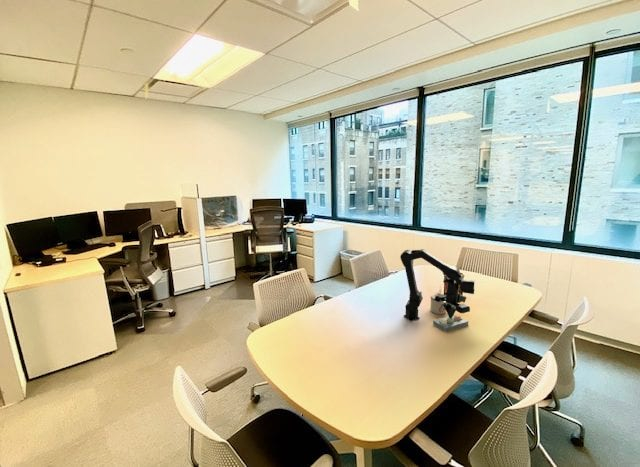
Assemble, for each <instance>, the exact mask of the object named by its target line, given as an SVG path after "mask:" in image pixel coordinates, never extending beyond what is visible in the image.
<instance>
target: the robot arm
mask: <svg viewBox="0 0 640 467" xmlns="http://www.w3.org/2000/svg"><path fill="white" fill-rule="evenodd" d="M399 259H400V261H401V263H402V265H403V267H404V269H405V270H404V271H405V273H406V274H405V275H406V279H407V284H408V289H409V295H408V296H409V300H408V301H407V303H406V304H405V306H404V307H405V314H403V317H404V318H406V320H409V321H416V320H419V319H420V317H419V307H420V306H421V303H422V301H423V299H424V298H423V294H422V293H423V292H422V291H419V290H418V286H417V285H418V284H417V281H416V277H415V276H416V275H415V271H414V270H415V269H414V266H413V264H414V260H417V259H423V260H424V261H425V262H427V263H429V264H430V265H432V266H433V267H435V268H436V269H438V270H440V271H441V272H442V274H443V275H444V276H445V278H444V279H443V283H444V284H445V283H446V291H444V294H443V293H441V295H436V297H435V301H437V302H440V300H442V301H443V302H444V304H443V306H444V308H445V310H446V312H445V313H447V316H449V318H452V317H453V315H455V314H456V312H458V313H459V314H465V313H466V314H467V313H469V312H471V308H470V306H469V305H467V304H465V302H466V300H467V296H465V295H462V294H461V293H463V294H469V295H470V294H471V295H474V294H475V280H469V279H464V278H463V276H462V274H461V273H460V269H459V268H458V267H457V266H454V265H452V264H448V263H446V262H444V261H442V260H441V259H440V258H438V257H437V256H434V255H433V254H431V253H430V252H428V251H427V250H425V249H413V250H410V249H405V250H404V251H403V252H402V253H401V254H400V258H399ZM459 291H460V292H459ZM461 302H462V304H461Z"/></svg>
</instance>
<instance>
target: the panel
mask: <svg viewBox="0 0 640 467" xmlns="http://www.w3.org/2000/svg"><path fill="white" fill-rule="evenodd" d="M455 315H456V314H454V315H453V318H454V316H455ZM448 317H449V316H448V315H447V316H444V317H441V318H440V317H439V318H437V319H434V320H433V321H432V325H433V326H435V327H436V328H438V329H440V330H442V332H445V333H447V332H450V331H454V330H457V329H458V330H459V329H461V328H464V327H469V320H466V319H465V318H462V317H461V320H460V321H456V320H455V319H454V322H453V323H450V322H448V321H447V324H446V325H443V324H441V323H440V322H441V319H446V320H448Z"/></svg>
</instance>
